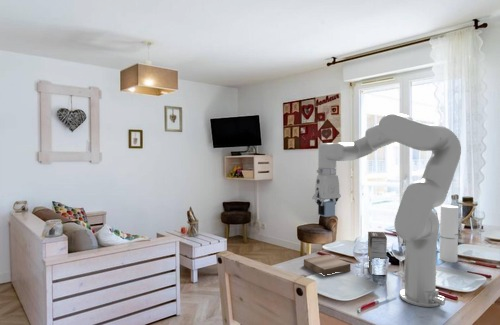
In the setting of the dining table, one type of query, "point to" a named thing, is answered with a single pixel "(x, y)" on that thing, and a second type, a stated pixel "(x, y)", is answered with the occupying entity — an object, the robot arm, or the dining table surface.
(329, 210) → the slate block
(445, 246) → the cylindrical container
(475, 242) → the dining table surface
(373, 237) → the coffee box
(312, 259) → the walnut base
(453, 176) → the robot arm
